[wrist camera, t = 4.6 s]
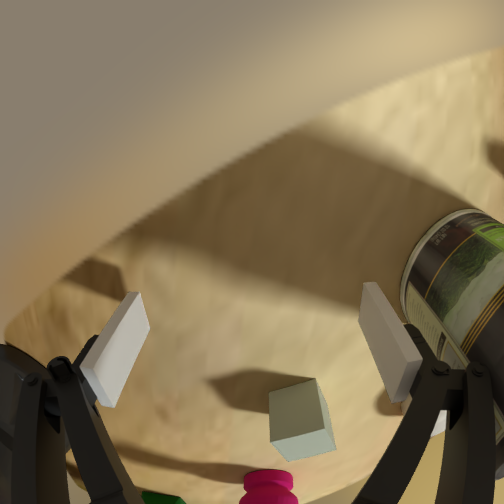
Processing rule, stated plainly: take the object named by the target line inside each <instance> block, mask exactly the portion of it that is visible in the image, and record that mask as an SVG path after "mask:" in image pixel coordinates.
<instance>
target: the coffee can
mask: <svg viewBox="0 0 504 504" xmlns="http://www.w3.org/2000/svg"><path fill="white" fill-rule="evenodd" d="M400 301H401V306H402V310H403V313H404V315H405V317H406V319H407V321H408V322H409V323H410V324H413V325H414V326H415V327H416V328H418V329H419V330H420V332H421V334H422V335H423V337H424V338H425V340H426V342H427V343H428V345H429V346H430V348H431V349H432V351H433V353H434V354H435V356H436V358H437V359H438V360H440V361H444V362H446V363H447V364H448V365H449V366H450V367H451V369H466V367H467V365H468V364H469V363H471V362H474V361H478V362H481V363H483V364H485V365H486V366H487V367H488V369H489V372H490V378H491V385H492V393H493V402H494V414H495V431H496V471H495V480H498V479H501V478H503V477H504V224H502V223H500V222H499V221H497V220H495V219H493V218H492V217H491V216H489V215H488V214H486V213H485V212H482V211H480V210H477V209H464V210H459V211H456V212H453V213H451V214H449V215H447V216H445V217H444V218H442V219H441V220H439V221H438V222H437V223H436V224H434V225H433V226H432V227H431V228H430V229H429V230H428V231H427V232H426V234H425V235H424V236H423V237H422V238H421V240H420V241H419V242H418V244H417V245H416V247H415V248H414V250H413V252H412V254H411V256H410V258H409V260H408V262H407V264H406V267H405V270H404V273H403V276H402V281H401V289H400Z"/></svg>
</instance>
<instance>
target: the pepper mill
mask: <svg viewBox="0 0 504 504" xmlns="http://www.w3.org/2000/svg"><path fill="white" fill-rule="evenodd" d="M292 488H293V477H292V475H291V474H290V473H288V472H285V471H281V470H260V471H255V472H251V473H249V474H247V475H246V476H245V477H244V490H245V491H247V493H246V494H245V495H244V496H243V497H242V498H241V500H240V501H239V504H298V499H297V497H296V496H295V495H294V494H293V493H291V492H290V490H291V489H292Z"/></svg>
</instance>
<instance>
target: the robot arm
mask: <svg viewBox="0 0 504 504" xmlns="http://www.w3.org/2000/svg"><path fill="white" fill-rule="evenodd" d="M358 322H359V325H360V327H361V329H362V331H363V334H364V336H365V339H366V341H367V343H368V346H369V348H370V350H371V353H372V355H373V358H374V360H375V363H376V365H377V368H378V370H379V373H380V375H381V378H382V380H383V383H384V385H385V388H386V390H387V393H388V396H389V398H390V401H391V404H392V403H397V402H401V401H406V399H407V397H408V395H409V392H410V395H411V397H412V401H411V403H410V405H409V407H408V409H407V411H406V413H405V415H404V417H403V419H402V421H401V423H400V425H399V427H398V429H397V431H396V433H395V435H394V437H393V438H392V440H391V442H390V444H389V446H388V447H387V449H386V451H385V453H384V454H383V456H382V458H381V459H380V461H379V463H378V464H377V466H376V468H375V469H374V471H373V472H372V474H371V475H370V477H369V479H368V480H367V482H366V483H365V485H364V486H363V488H362V489H361V490H360V492H359V493H358V495H357V496H356V498H355V499H354V500H353V502H352V503H351V504H397V503H398V502H399V500H400V498H401V496H402V495H403V493H404V491H405V489H406V487H407V486H408V484H409V482H410V480H411V478H412V476H413V474H414V472H415V470H416V468H417V466H418V464H419V462H420V460H421V457H422V455H423V453H424V451H425V448H426V446H427V444H428V441H429V439H430V437H431V434H432V432H433V429H434V427H435V424H436V421H437V419H438V416H439V413H440V410H447V412H446V429H445V441H444V450H443V459H442V466H441V472H440V479H439V485H438V490H437V495H436V500H435V504H493V498H494V488H495V471H496V431H495V414H494V402H493V393H492V385H491V378H490V372H489V369H488V367H487V366H486V365H485V364H483V363H481V362H478V361H474V362H471V363H469V364H468V365H467V367H466V369H451V367H450V366H449V365H448V364H447V363H446V362H444V361H440V360H438V359H437V358H436V356H435V354H434V353H433V351H432V349H431V348H430V346H429V345H428V343H427V342H426V340H425V338H424V337H423V335H422V334H421V332H420V330H419V329H418V328H416V327H415V326H414V325H413V324H406V325H403V324H402V322H401V321H400V319H399V317H398V316H397V314H396V313H395V311H394V309H393V308H392V306H391V305H390V303H389V301H388V300H387V298H386V297H385V295H384V294H383V292H382V290H381V289H380V287H379V286H378V284H377V283H376V282H364V283H363V291H362V298H361V305H360V312H359V319H358ZM149 330H150V326H149V323H148V319H147V316H146V312H145V309H144V305H143V302H142V298H141V295H140V292H128V294H127V295H126V296H125V298H124V299H123V301H122V302H121V304H120V305H119V306H118V308H117V309H116V311H115V312H114V314H113V315H112V317H111V318H110V320H109V321H108V323H107V324H106V326H105V327H104V329H103V330H102V332H101V333H100V335H94V336H93V337H91V338H90V339H89V340H88V341H87V343H86V344H85V346H84V348H83V349H82V350H81V353H79V355H78V356H77V358H76V359H75V361H74V363H73V364H71V362H70V361H69V359H68V358H67V357H65V356H59V357H56V358H54V359H52V360H51V361H50V362H49V363H48V365H47V370H46V369H45V368H44V367H43V366H41V365H40V364H39V363H37V362H36V361H35V360H33V359H32V358H30V357H29V356H27V355H26V354H24V353H22V352H21V351H19V350H17V349H15V348H13V347H10V346H8V345H4V344H0V504H70V500H69V492H68V483H67V471H66V456H65V454H66V453H67V452H68V451H69V450H70V449H72V452H73V455H74V458H75V461H76V463H77V466H78V469H79V472H80V474H81V477H82V479H83V482H84V484H85V487H86V489H87V491H88V494H89V496H90V499H91V503H89V504H145V503H144V501H143V499H142V498H141V496H140V494H139V493H138V491H137V489H136V488H135V486H134V484H133V482H132V481H131V479H130V477H129V475H128V473H127V472H126V470H125V468H124V466H123V464H122V462H121V460H120V458H119V456H118V454H117V452H116V450H115V448H114V446H113V444H112V442H111V439H110V437H109V435H108V433H107V431H106V428H105V426H104V424H103V421H102V419H101V416H100V414H99V412H98V409H97V407H96V405H95V401H96V399H98V400H99V402H100V404H101V405H102V406H107V407H113V408H115V405H116V403H117V401H118V398H119V396H120V394H121V391H122V389H123V387H124V385H125V382H126V380H127V378H128V376H129V373H130V371H131V369H132V367H133V364H134V362H135V360H136V358H137V356H138V354H139V351H140V349H141V347H142V345H143V343H144V341H145V339H146V337H147V334H148V332H149Z"/></svg>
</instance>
